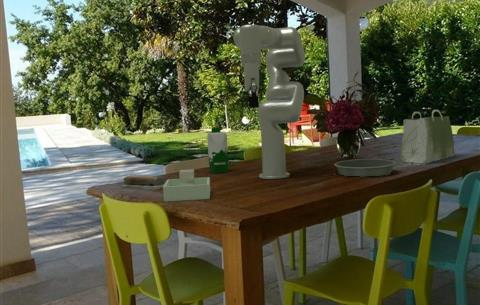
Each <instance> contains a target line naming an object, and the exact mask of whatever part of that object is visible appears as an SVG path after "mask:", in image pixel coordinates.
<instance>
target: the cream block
mask: <svg viewBox="0 0 480 305" xmlns="http://www.w3.org/2000/svg"><path fill="white" fill-rule="evenodd" d="M178 173H179V174H178V175H179V176H178V177H179V179H180V186H185V185H195V178H196V177H195V169H181V170H179V172H178Z"/></svg>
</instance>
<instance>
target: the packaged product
mask: <svg viewBox="0 0 480 305" xmlns="http://www.w3.org/2000/svg"><path fill="white" fill-rule="evenodd" d="M165 180H166V179H165V177H164V176H156V175H155V176H152V175H139V174H138V175H136V174H133V175H132V174H131V175H129V176H125V177H123V184H121V185H120V186H121V187H123V188H122V189H130V188H132V189H133V190H134V189H135V190H146V189H152V191H157V190H160V188H161V189H163V186H164V185H165V183H166V182H165ZM132 189H131V190H132ZM156 189H157V190H156Z"/></svg>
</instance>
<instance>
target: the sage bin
mask: <svg viewBox="0 0 480 305" xmlns="http://www.w3.org/2000/svg"><path fill="white" fill-rule="evenodd" d="M164 183H165V185H164V186H163V188H162V192H163V202H179V201H198V200H199V201H200V200H210V199H211V198H210V197H211V178H210V176H208V177H195V185H185V186H180V178H172V179H170V178H169V179H167V180H166V181H165V182H164Z"/></svg>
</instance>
